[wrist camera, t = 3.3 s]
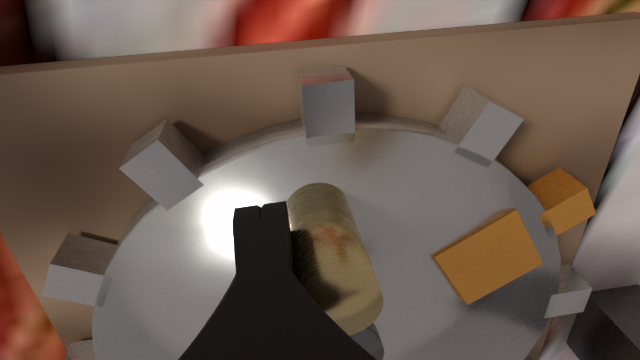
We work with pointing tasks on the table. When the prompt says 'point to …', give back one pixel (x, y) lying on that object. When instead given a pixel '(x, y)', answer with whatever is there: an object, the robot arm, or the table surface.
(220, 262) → the sprocket wheel
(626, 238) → the table surface
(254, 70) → the base
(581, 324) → the brushed metal cube
